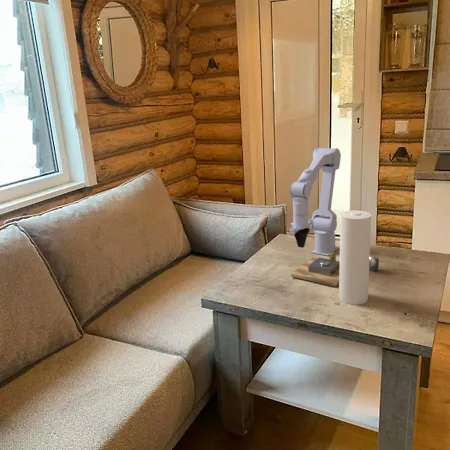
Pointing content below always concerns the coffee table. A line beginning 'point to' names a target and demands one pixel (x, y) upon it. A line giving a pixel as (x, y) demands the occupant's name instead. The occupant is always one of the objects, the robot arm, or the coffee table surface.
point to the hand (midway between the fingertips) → (301, 246)
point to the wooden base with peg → (304, 274)
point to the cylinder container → (354, 256)
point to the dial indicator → (373, 264)
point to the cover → (324, 266)
